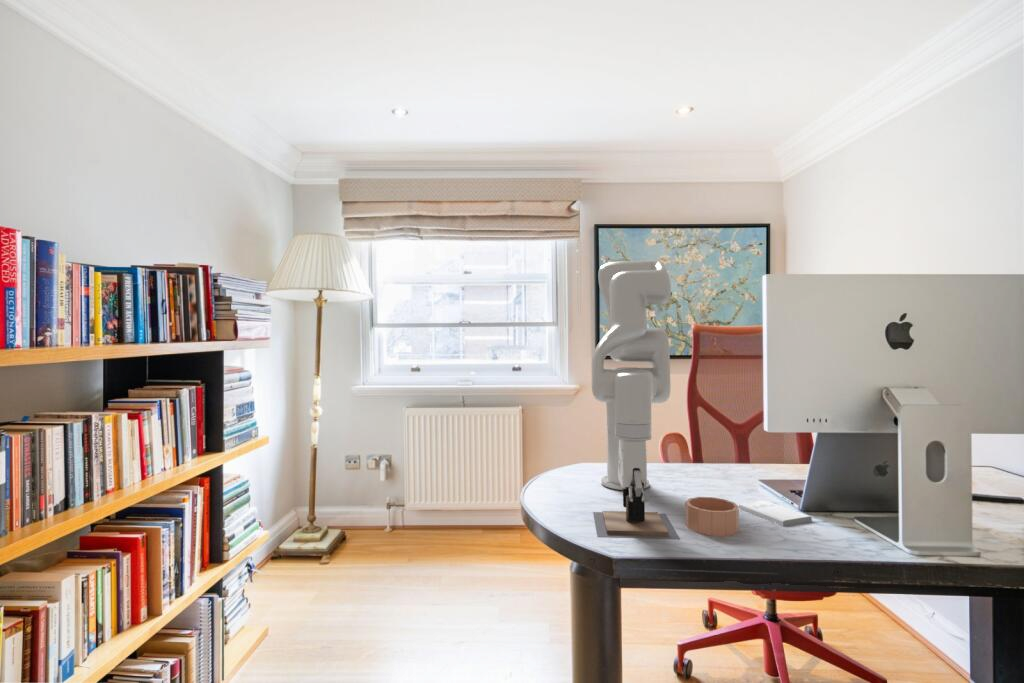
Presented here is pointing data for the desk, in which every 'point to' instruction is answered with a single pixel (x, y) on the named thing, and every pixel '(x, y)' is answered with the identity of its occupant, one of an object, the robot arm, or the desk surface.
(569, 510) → the desk surface
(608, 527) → the lid
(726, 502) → the bowl
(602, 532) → the mat
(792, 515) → the external hard drive
